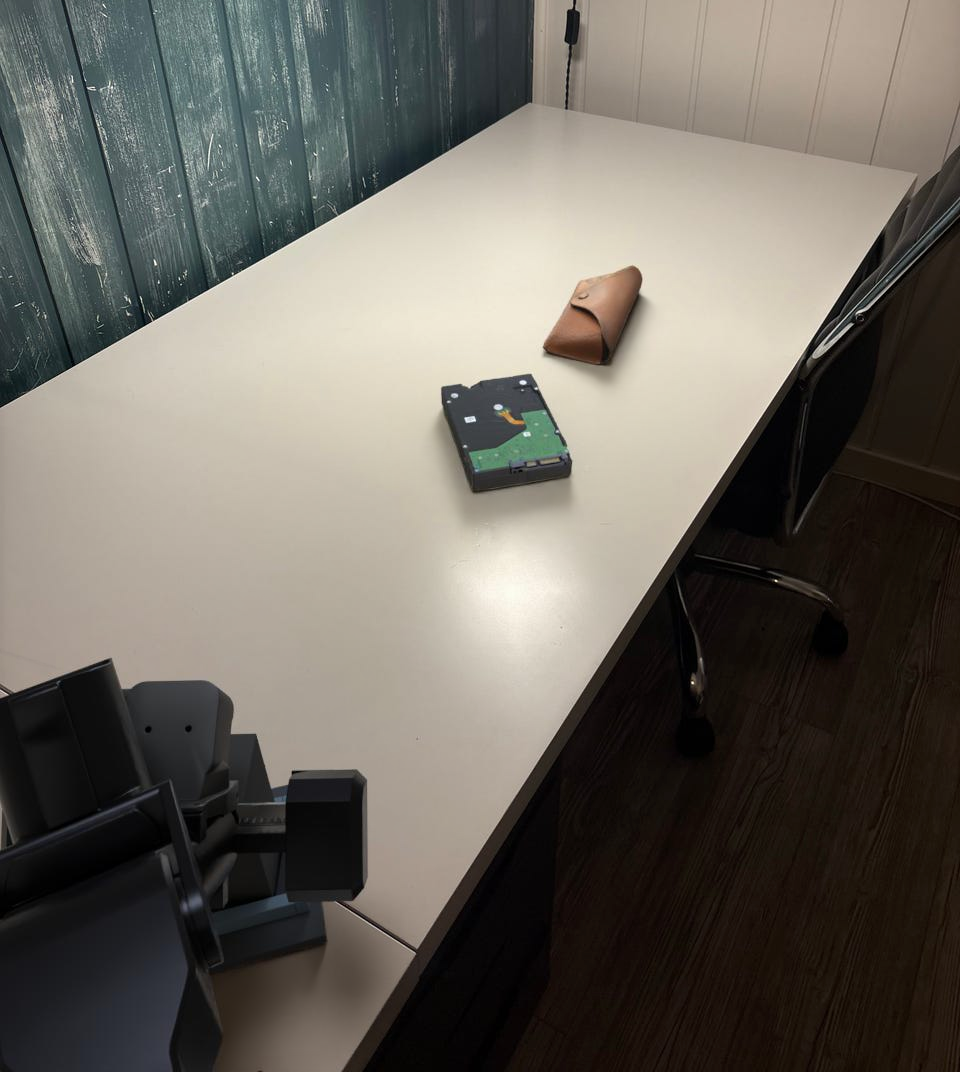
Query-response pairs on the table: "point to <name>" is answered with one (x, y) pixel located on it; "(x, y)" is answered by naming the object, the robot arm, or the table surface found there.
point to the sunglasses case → (595, 317)
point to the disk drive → (505, 432)
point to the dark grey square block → (251, 870)
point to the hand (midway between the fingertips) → (229, 795)
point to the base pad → (267, 923)
